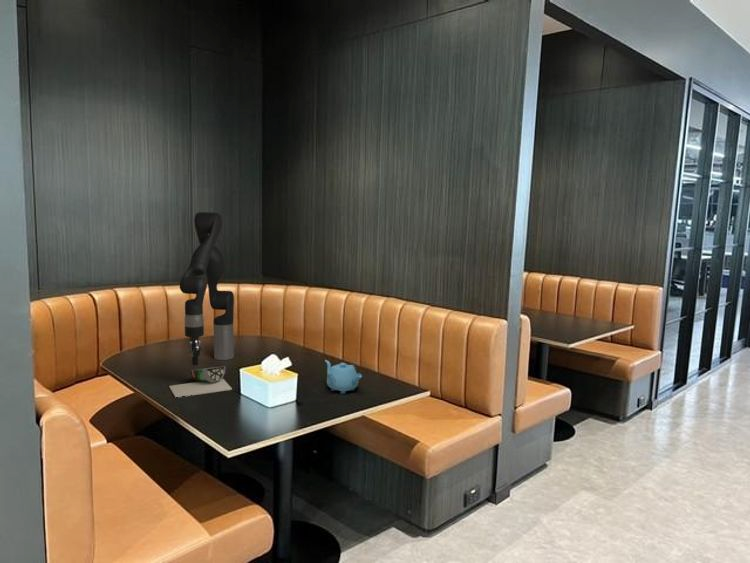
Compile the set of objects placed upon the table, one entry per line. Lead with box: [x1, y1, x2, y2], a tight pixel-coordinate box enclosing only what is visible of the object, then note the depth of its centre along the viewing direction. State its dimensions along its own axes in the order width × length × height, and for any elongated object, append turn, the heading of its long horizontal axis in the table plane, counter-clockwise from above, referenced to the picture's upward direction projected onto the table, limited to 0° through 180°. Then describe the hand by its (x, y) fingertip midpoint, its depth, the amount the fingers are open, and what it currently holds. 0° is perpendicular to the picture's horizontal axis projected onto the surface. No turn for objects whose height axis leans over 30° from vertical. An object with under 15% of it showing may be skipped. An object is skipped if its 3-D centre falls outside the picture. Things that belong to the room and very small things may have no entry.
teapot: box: [324, 359, 363, 395], centre depth 225 cm, size 15×14×11 cm
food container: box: [189, 365, 226, 383], centre depth 231 cm, size 12×6×10 cm
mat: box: [168, 378, 233, 398], centre depth 224 cm, size 14×22×1 cm, turn 120°
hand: (195, 364), depth 229 cm, fingers closed
